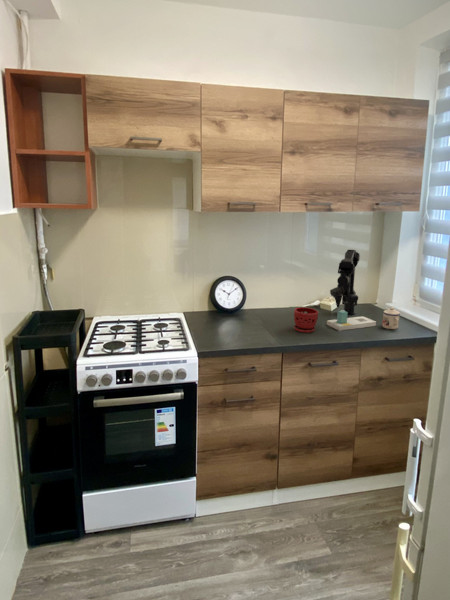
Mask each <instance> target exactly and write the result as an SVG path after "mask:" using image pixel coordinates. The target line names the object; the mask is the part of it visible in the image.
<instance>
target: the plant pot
mask: <svg viewBox="0 0 450 600" xmlns="http://www.w3.org/2000/svg"><path fill="white" fill-rule="evenodd" d="M318 316H319V311H318V310H316V309H314V308H311V307H301V306H300V307H296V308H295V309H294V313H293V320H294V326H293V327H294V329H295V330H296V332H300V333H306V334H307V333H312V332H314V331H315V330H316V327H315V326H316V324H317V321H318V318H319V317H318Z"/></svg>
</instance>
